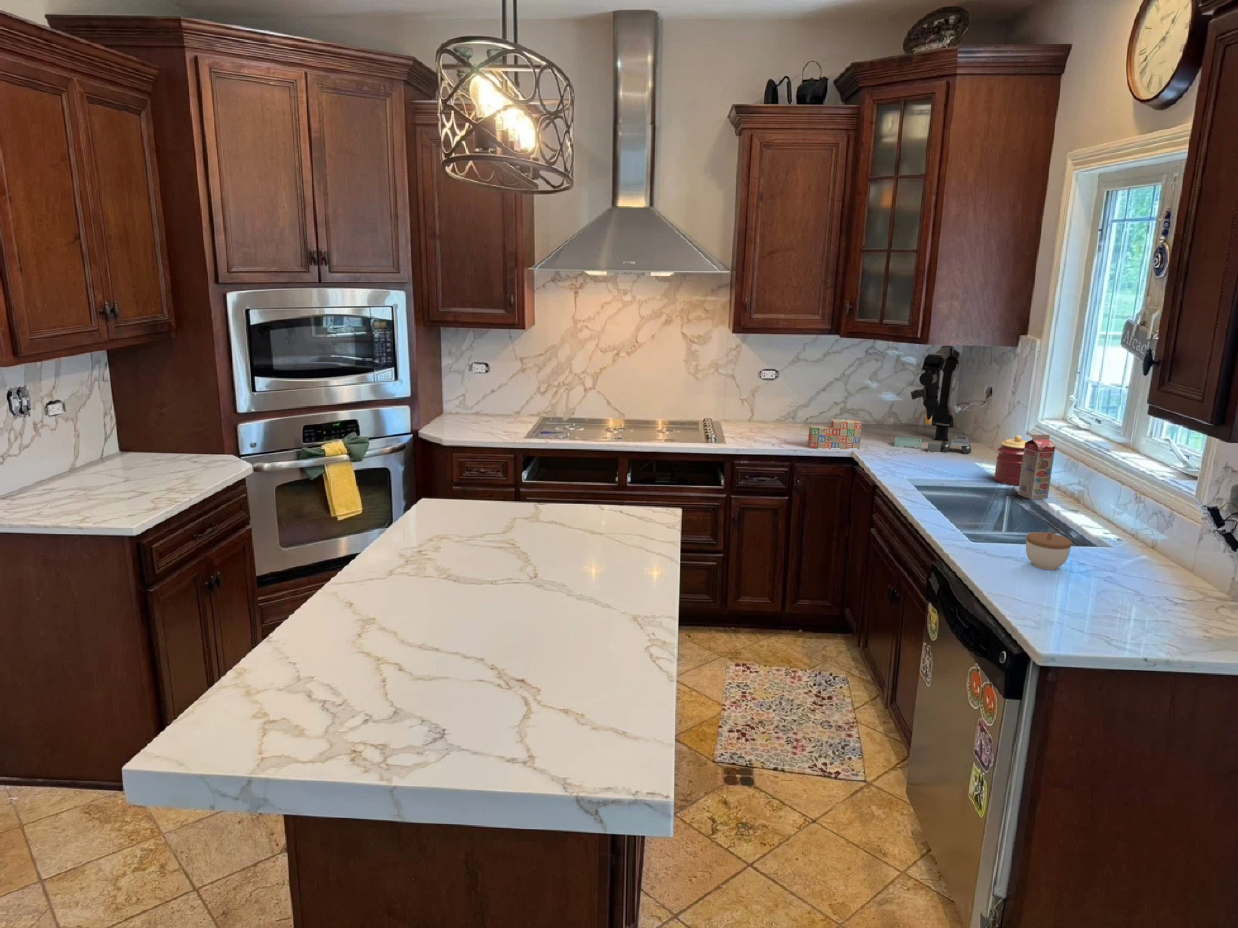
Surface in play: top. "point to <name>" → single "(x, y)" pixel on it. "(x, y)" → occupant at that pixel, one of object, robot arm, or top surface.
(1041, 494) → the juice carton
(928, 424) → the pin
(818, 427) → the stack of blocks
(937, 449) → the block
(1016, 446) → the canister
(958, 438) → the grey toy car
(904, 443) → the tray
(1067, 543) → the lidded jar
